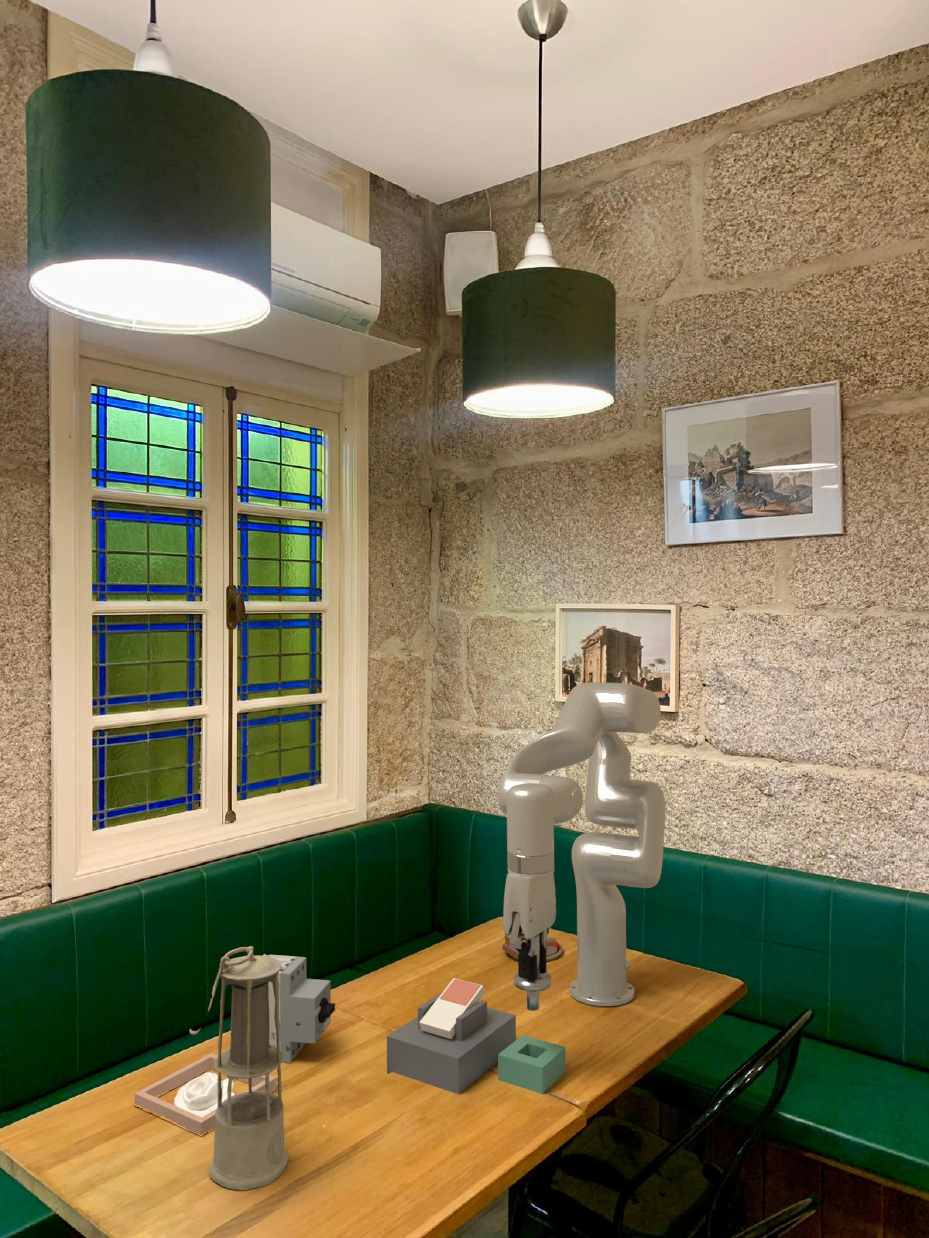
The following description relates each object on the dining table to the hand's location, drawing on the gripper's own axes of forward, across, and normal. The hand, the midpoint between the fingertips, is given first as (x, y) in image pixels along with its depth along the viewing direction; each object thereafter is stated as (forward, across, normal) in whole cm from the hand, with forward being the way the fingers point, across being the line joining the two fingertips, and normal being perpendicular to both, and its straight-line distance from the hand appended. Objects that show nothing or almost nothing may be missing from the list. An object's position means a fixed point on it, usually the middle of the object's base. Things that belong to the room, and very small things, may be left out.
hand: (532, 974), depth 144 cm
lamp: (+16, +43, -22) cm, 51 cm away
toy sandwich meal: (+18, -47, -26) cm, 56 cm away
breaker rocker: (+8, +3, -14) cm, 16 cm away
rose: (+17, +34, -39) cm, 54 cm away
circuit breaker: (+17, +15, -39) cm, 45 cm away
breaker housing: (+17, +3, -14) cm, 22 cm away
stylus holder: (+17, +1, 0) cm, 17 cm away
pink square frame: (+16, +33, -40) cm, 54 cm away
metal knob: (+5, 0, 0) cm, 5 cm away
